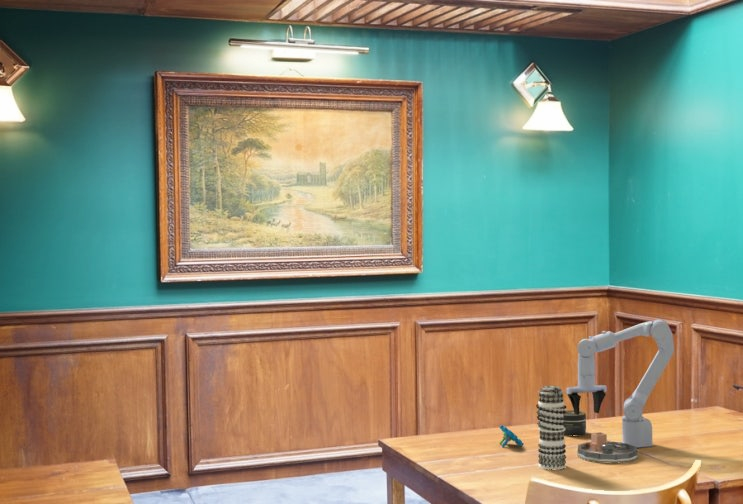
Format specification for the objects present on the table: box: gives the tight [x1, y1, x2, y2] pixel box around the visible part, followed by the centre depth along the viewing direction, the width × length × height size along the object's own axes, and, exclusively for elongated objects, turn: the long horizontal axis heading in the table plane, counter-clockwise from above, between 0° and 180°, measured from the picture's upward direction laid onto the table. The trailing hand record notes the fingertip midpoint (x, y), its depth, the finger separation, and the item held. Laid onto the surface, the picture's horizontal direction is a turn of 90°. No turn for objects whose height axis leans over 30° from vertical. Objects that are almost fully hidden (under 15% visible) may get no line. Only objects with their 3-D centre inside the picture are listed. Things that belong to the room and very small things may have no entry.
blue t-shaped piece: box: [499, 424, 524, 448], centre depth 322 cm, size 11×6×10 cm
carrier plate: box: [577, 440, 639, 464], centre depth 306 cm, size 19×19×5 cm
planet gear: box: [590, 432, 608, 451], centre depth 311 cm, size 5×5×5 cm
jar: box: [563, 409, 587, 437], centre depth 340 cm, size 10×10×8 cm
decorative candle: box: [535, 385, 567, 471], centre depth 293 cm, size 9×9×25 cm
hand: (586, 413), depth 324 cm, fingers open, 7 cm apart
